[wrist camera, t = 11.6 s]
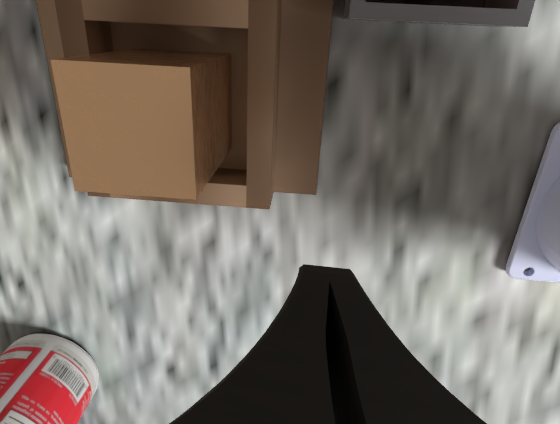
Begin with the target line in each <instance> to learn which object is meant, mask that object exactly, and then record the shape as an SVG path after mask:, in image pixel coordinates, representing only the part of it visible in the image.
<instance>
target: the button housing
mask: <svg viewBox="0 0 560 424" xmlns="http://www.w3.org/2000/svg"><path fill="white" fill-rule="evenodd" d="M534 2H535V0H485V4H484V8H479V7H458V6H437V5H416V4H395V3H374V2H366V0H345V8H344V18H343V19H355V20H375V21H395V22H415V23H435V24H455V25H475V26H512V27H528V23H529V20H530V16H531V13H532V9H533V6H534Z"/></svg>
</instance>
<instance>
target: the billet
mask: <svg viewBox="0 0 560 424" xmlns="http://www.w3.org/2000/svg"><path fill="white" fill-rule="evenodd" d="M50 60H51V65H52V71H53V76H54V81H55V87H56V92H57V97H58V103H59V108H60V113H61V119H62V124H63V130H64V135H65V140H66V146H67V151H68V156H69V162H70V167H71V172H72V178H73V183H74V189H75V191H84V192H98V193H111V194H124V195H138V196H151V197H164V198H178V199H191V200H197V198H198V197H199V195H200V194H201V192H202V191H203V189H204V188H205V186H206V185H207V183H208V182H209V180H210V179H211V177H212V176H213V175H214V173H215V172H216V170H217V169H218V167H219V166H220V164H221V163H222V161H223V160H224V158H225V157H226V155H227V154H228V153H229V151H230V150H231V148H232V114H231V53H213V52H195V51H177V50H159V49H140V48H135V49H127V50H119V51H112V52H104V53H96V54H89V55H81V56H73V57H65V58H58V59H50Z"/></svg>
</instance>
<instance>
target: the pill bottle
mask: <svg viewBox="0 0 560 424" xmlns="http://www.w3.org/2000/svg"><path fill="white" fill-rule="evenodd" d="M98 383H99V373H98V369H97V366H96V364H95V362H94V360H93V359H92V357H91V356H90V355H89V354H88V353H87V352H86V351H85V350H83V349H82V348H81V347H80V346H78V345H77V344H75V343H73V342H72V341H70V340H67V339H65V338H62V337H59V336H55V335H51V334H30V335H26V336H24V337H22V338H20V339H18V340H16V341H15V342H14V343H12V344H11V345H10V346H9V347H8V348H7V349H6V350H5V351H4V352H3V353H2V354H1V355H0V424H77V423H78V421H79V419H80V418H81V416H82V414H83V413H84V411H85V409H86V407H87V406H88V404H89V402H90V401H91V399H92V397H93V395H94V393H95V391H96V389H97V387H98Z"/></svg>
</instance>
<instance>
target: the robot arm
mask: <svg viewBox="0 0 560 424" xmlns="http://www.w3.org/2000/svg"><path fill="white" fill-rule="evenodd" d="M530 267H531V268H530ZM526 268H530V270H528V271H527V272H523V271H524V270H525V269H526ZM505 270H506V272H507V274H508V275H509V276H510V277H511V278H514V279H524V280H537V281H549V282H560V122H559V123H557V124H556V125H555V126H554V127H553V129H552V131H551V134H550V137H549V140H548V143H547V146H546V149H545V152H544V155H543V158H542V161H541V163H540V166H539V169H538V172H537V175H536V178H535V181H534V184H533V187H532V190H531V193H530V196H529V199H528V202H527V205H526V208H525V211H524V214H523V217H522V220H521V223H520V225H519V228H518V231H517V234H516V237H515V240H514V243H513V246H512V249H511V252H510V255H509V258H508V261H507V264H506V268H505ZM170 424H486V423H485V422H484V421H483V420H481V419H480V418H479V417H478V416H477V415H475V414H474V413H473V412H472V411H471V410H470V409H468V408H467V407H466V406H465V405H464V404H463V403H462V402H460V401H459V400H458V399H457V398H456V397H455V396H454V395H452V394H451V393H450V392H449V391H448V390H447V389H446V388H445V387H444V386H443V385H442V384H441V383H439V382H438V381H437V380H436V379H435V378H434V377H433V376H432V375H431V374H430V373H429V372H428V371H427V370H426V369H425V368H424V366H423V365H422V364H421V363H420V362H419V361H418V360H417V359H416V358H415V357H414V356H413V355H412V354H411V353H410V352H409V350H408V349H407V348H406V347H405V346H404V345H403V343H402V342H401V341H400V340H399V338H398V337H397V336H396V335H395V334H394V332H393V331H392V330H391V328H390V327H389V326H388V325H387V323H386V322H385V320H384V319H383V318H382V316H381V315H380V314H379V312H378V311H377V309H376V308H375V307H374V305H373V304H372V302H371V301H370V299H369V298H368V296H367V295H366V293H365V292H364V290H363V288H362V287H361V285H360V284H359V282H358V280H357V279H356V277H355V275H354V274H353V272H352V271H351V270H350V269H342V268H333V267H323V266H314V265H303V266H301V267H300V268H299V273H298V277H297V279H296V282H295V284H294V286H293V288H292V291H291V293H290V294H289V296H288V298H287V300H286V301H285V303H284V305H283V307H282V308H281V310H280V312H279V313H278V315H277V316H276V318H275V319H274V320H273V322H272V323H271V325H270V326H269V328H268V329H267V331H266V332H265V333H264V335H263V336H262V337H261V338H260V340H259V341H258V342H257V343H256V345H255V346H254V347H253V348H252V349H251V350H250V352H249V353H248V354H247V355H246V356H245V357H244V358H243V359H242V360H241V361H240V362H239V364H238V365H237V366H236V367H235V368H234V369H233V370H232V371H231V372H230V373H229V374H228V375H227V376H226V377H225V378H224V379H223V380H222V381H221V382H220V383H218V384H217V385H216V386H215V387H214V388H213V389H212V390H210V391H209V392H208V393H207V394H206V395H205V396H203V397H202V398H201V399H200V400H199V401H198V402H196V403H195V404H194V405H193V406H192V407H190V408H189V409H188V410H187V411H186V412H184V413H183V414H182V415H180V416H179V417H178V418H177V419H175V420H174V421H172V422H171V423H170Z"/></svg>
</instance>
